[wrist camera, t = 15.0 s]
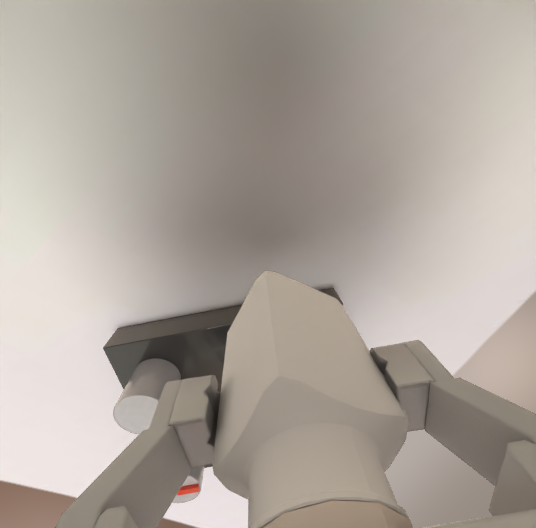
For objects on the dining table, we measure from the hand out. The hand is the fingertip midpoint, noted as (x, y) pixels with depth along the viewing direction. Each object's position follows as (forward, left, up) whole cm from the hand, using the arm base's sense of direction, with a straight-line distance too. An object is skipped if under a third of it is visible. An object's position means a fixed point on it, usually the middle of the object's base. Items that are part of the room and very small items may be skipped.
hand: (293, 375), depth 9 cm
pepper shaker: (0, 0, -4) cm, 4 cm away
